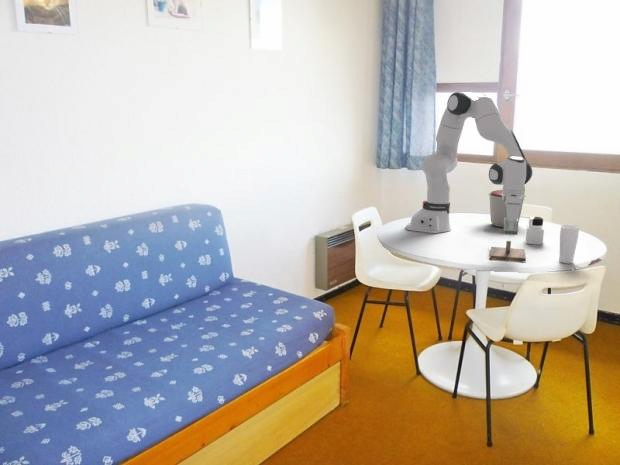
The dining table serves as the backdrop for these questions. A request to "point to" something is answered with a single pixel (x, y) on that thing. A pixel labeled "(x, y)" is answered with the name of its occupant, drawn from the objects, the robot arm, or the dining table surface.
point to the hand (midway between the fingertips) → (510, 227)
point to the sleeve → (506, 227)
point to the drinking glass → (568, 243)
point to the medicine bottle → (535, 231)
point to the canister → (499, 208)
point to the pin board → (508, 253)
